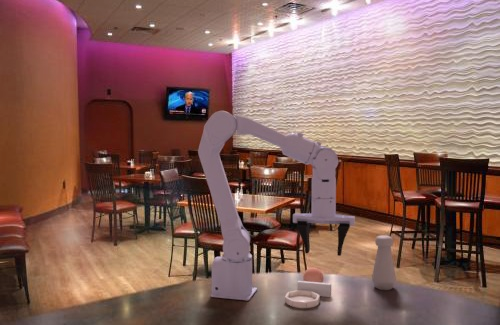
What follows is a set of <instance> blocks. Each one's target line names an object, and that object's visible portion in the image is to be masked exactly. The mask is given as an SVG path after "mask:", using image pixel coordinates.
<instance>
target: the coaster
mask: <svg viewBox="0 0 500 325" xmlns="http://www.w3.org/2000/svg"><path fill="white" fill-rule="evenodd" d="M320 297H321V296H320V295H318V294H316V293H314V292H312V291H305V290H297V289H295V290H291V291H287V292H286V294H285V296H284V301H285V303H286V304H287V306H289V305H290V306H289V307H293V308H297V309H311V308H315V307H317V306H318V305H319V303H320V300H321V298H320Z"/></svg>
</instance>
